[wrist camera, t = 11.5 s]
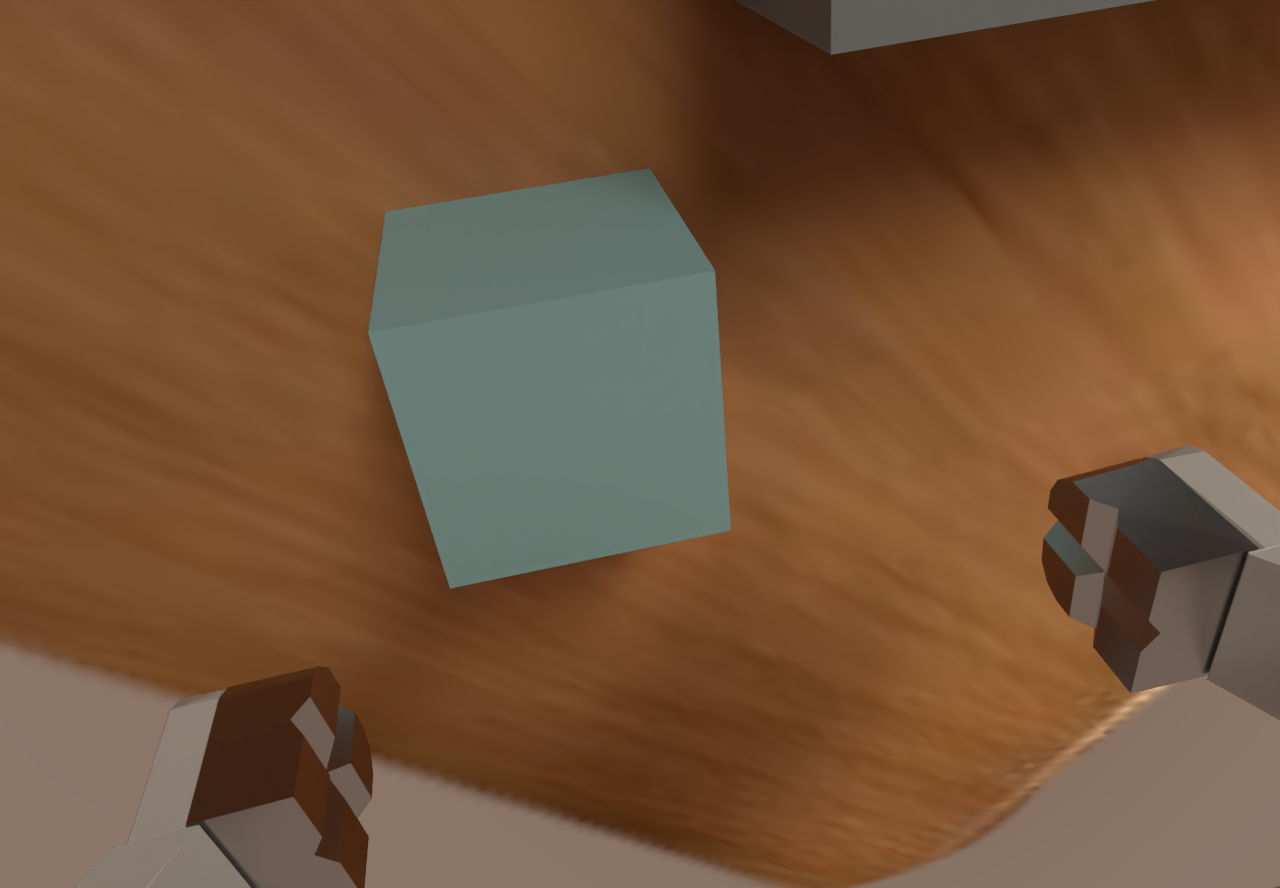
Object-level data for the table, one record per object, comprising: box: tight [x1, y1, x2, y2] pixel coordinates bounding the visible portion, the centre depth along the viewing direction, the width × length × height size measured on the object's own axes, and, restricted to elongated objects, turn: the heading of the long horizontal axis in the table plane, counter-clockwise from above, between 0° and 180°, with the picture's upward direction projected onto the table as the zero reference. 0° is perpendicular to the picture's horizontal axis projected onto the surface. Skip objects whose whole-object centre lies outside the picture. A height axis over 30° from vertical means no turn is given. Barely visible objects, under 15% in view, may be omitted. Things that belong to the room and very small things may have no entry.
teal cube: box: [368, 168, 731, 588], centre depth 16 cm, size 5×5×5 cm
